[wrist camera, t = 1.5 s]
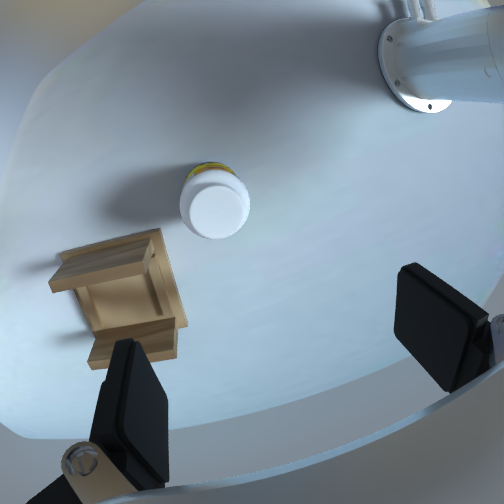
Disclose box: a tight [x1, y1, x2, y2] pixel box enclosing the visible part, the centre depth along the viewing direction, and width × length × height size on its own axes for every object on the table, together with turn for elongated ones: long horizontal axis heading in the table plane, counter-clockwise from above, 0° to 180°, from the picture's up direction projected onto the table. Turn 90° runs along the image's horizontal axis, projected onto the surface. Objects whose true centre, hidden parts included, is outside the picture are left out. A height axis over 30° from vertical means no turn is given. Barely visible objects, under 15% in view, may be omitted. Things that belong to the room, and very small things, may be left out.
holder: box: [48, 228, 188, 370], centre depth 30 cm, size 12×12×7 cm
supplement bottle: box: [179, 162, 250, 239], centre depth 27 cm, size 6×6×10 cm
